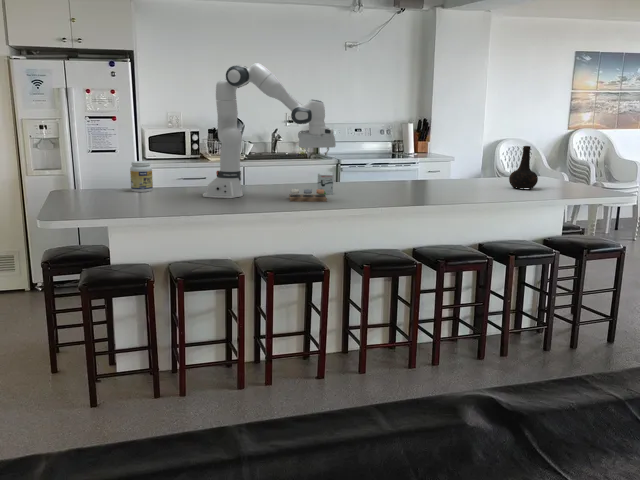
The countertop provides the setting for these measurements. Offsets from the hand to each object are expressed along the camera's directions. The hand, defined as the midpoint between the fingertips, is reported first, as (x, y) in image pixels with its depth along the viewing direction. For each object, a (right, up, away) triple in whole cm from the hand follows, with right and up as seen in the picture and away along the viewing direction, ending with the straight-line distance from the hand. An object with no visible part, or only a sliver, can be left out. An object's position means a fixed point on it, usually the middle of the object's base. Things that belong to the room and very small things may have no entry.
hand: (317, 155), depth 330 cm
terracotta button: (+2, -20, +3) cm, 21 cm away
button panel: (-5, -24, +4) cm, 25 cm away
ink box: (+4, -19, +26) cm, 33 cm away
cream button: (-12, -20, +2) cm, 24 cm away
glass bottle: (+134, -13, +65) cm, 150 cm away
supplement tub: (-103, -18, +22) cm, 106 cm away
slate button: (-5, -20, +3) cm, 21 cm away
